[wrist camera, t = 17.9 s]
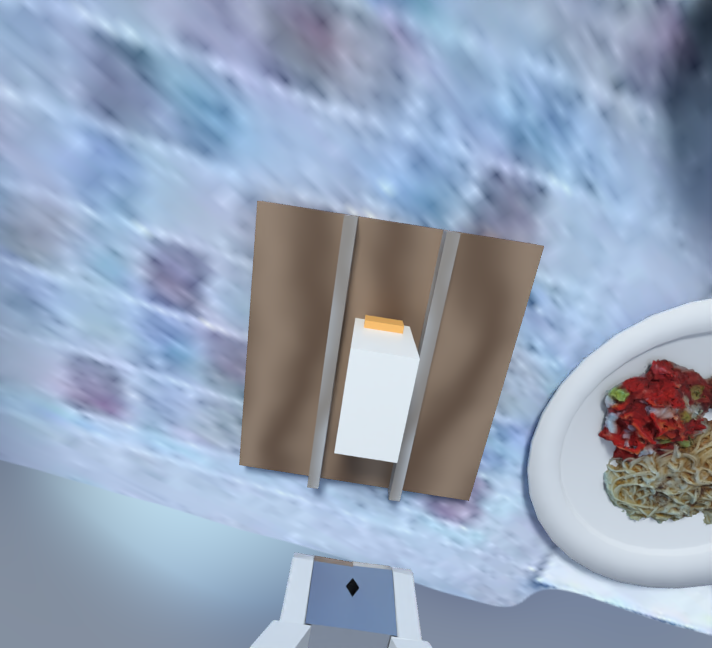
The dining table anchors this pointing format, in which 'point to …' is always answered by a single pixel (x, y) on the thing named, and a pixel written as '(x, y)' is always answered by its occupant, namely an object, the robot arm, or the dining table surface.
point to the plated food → (633, 454)
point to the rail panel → (387, 300)
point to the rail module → (377, 389)
